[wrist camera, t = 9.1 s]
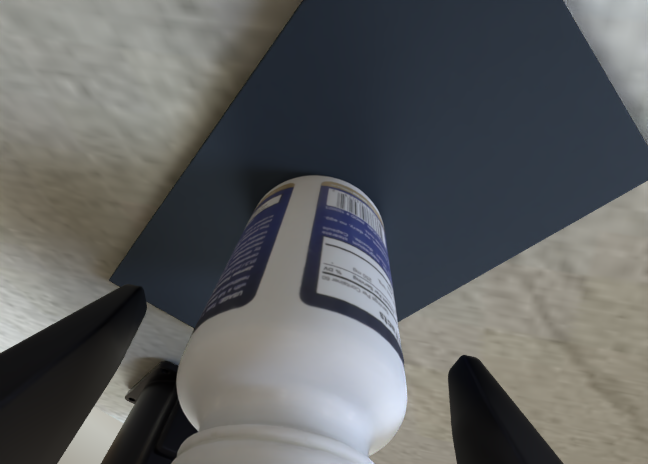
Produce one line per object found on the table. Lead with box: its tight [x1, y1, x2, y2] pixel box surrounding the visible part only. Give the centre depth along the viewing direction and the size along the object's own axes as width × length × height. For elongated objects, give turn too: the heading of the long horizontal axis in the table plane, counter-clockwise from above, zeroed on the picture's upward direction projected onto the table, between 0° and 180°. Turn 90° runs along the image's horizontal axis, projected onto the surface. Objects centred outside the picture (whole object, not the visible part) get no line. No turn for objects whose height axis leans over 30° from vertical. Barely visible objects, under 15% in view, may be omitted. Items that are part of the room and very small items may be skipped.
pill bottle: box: [171, 175, 407, 464], centre depth 9 cm, size 5×5×10 cm
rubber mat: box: [109, 0, 648, 328], centre depth 13 cm, size 20×12×1 cm, turn 138°
